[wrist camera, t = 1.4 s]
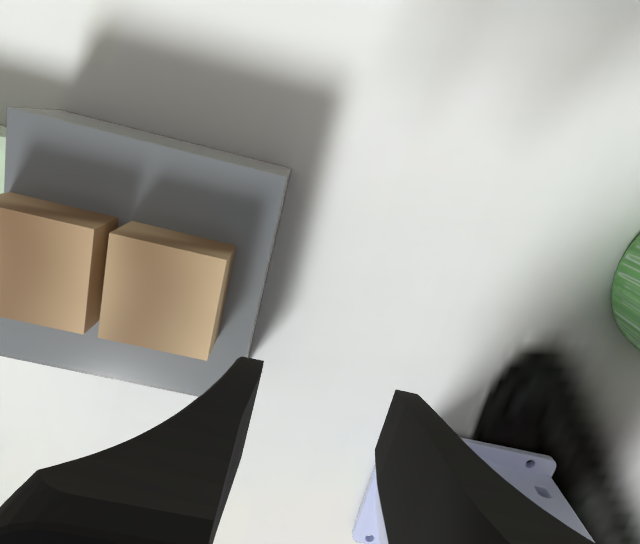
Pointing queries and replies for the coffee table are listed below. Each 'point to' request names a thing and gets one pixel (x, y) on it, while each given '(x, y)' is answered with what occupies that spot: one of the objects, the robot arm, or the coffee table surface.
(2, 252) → the oak tile
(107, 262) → the oak tile
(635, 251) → the ramekin
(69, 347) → the grey flat block
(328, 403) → the coffee table surface
